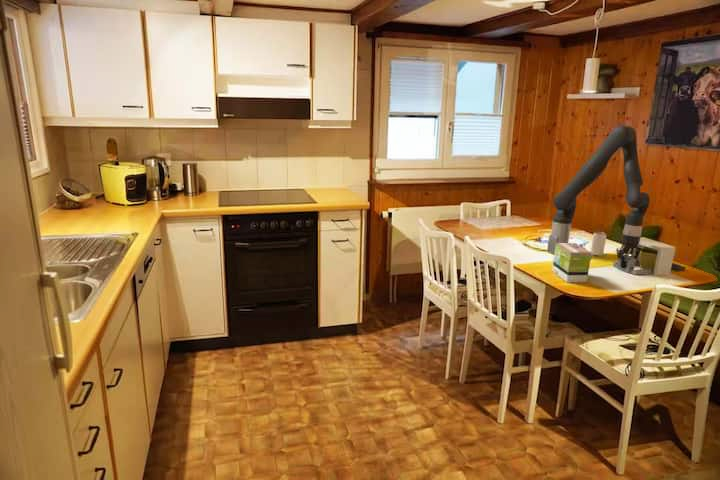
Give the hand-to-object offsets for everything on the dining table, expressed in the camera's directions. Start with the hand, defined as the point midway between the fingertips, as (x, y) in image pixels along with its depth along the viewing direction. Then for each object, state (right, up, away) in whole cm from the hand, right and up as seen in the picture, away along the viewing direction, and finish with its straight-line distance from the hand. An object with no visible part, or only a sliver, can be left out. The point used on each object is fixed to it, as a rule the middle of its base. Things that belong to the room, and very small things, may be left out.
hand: (625, 267), depth 239 cm
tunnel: (+13, -1, +5) cm, 14 cm away
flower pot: (+13, -1, +5) cm, 14 cm away
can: (-1, +6, +27) cm, 27 cm away
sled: (+9, -1, +4) cm, 10 cm away
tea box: (-33, -4, -11) cm, 35 cm away
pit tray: (+27, 0, +9) cm, 28 cm away
